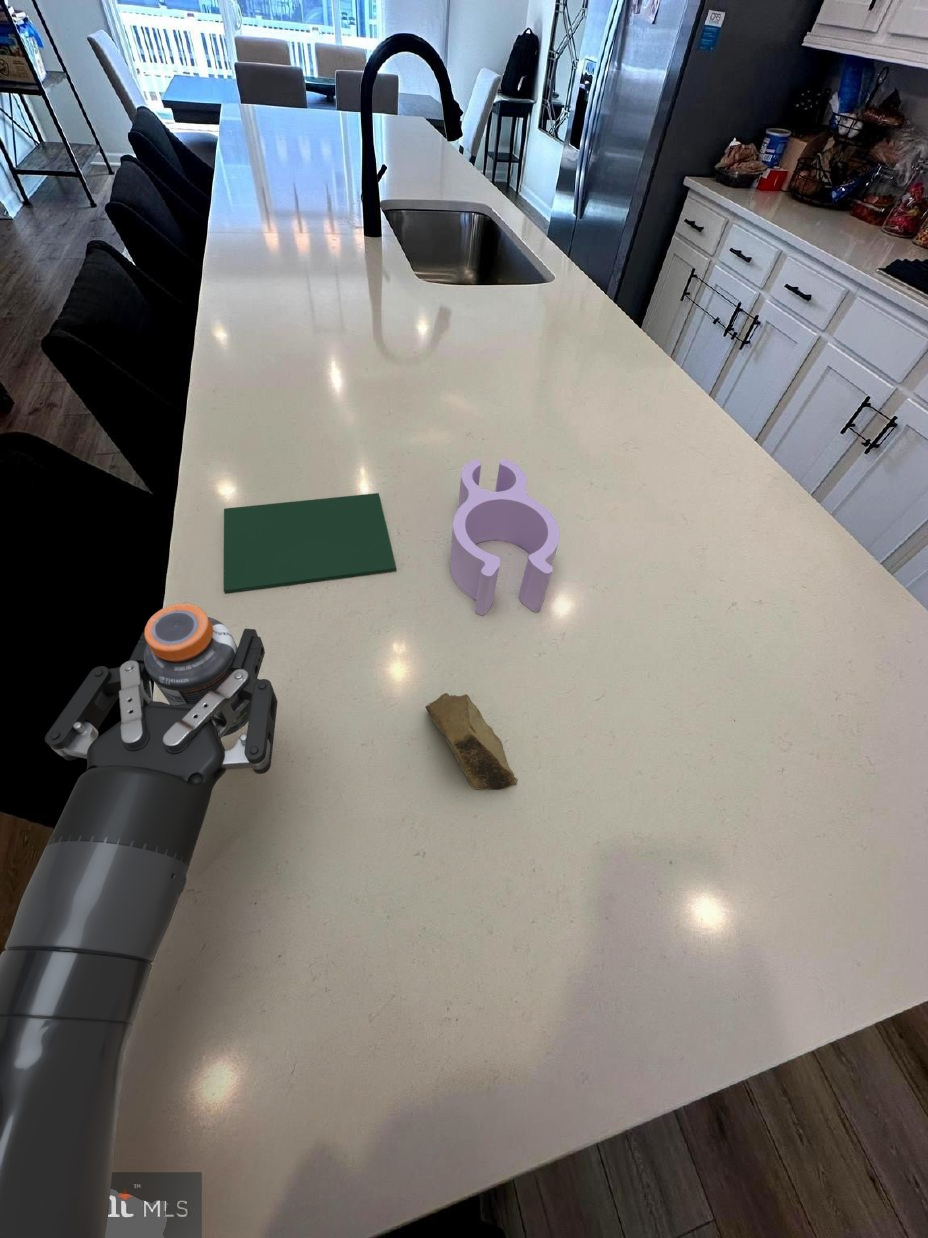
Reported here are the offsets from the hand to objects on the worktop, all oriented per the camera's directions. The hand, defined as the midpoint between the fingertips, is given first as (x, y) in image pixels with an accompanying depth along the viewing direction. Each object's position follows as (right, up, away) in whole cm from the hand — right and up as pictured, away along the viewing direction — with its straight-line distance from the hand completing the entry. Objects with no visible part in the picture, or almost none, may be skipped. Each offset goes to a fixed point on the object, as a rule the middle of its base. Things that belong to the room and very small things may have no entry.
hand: (208, 631), depth 42 cm
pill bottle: (-1, -6, +4) cm, 7 cm away
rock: (+20, -12, +13) cm, 27 cm away
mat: (0, +11, +28) cm, 30 cm away
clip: (+23, +9, +30) cm, 39 cm away
